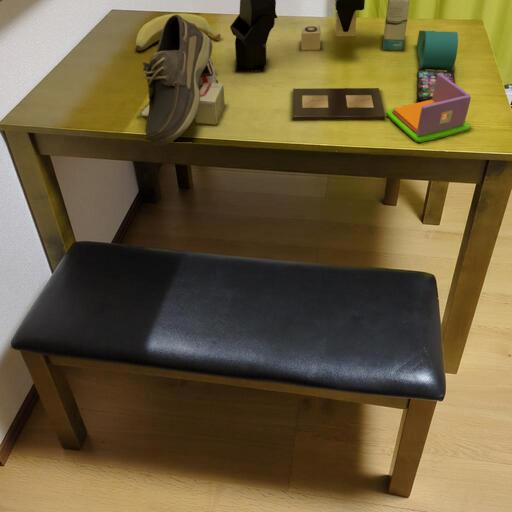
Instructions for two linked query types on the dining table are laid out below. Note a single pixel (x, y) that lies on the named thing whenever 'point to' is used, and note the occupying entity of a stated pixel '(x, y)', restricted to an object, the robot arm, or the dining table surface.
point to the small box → (210, 103)
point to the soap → (146, 111)
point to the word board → (337, 104)
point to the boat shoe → (175, 79)
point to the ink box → (395, 24)
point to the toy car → (208, 75)
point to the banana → (155, 27)
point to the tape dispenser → (437, 49)
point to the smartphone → (430, 81)
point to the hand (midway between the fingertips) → (345, 27)
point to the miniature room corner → (435, 113)
